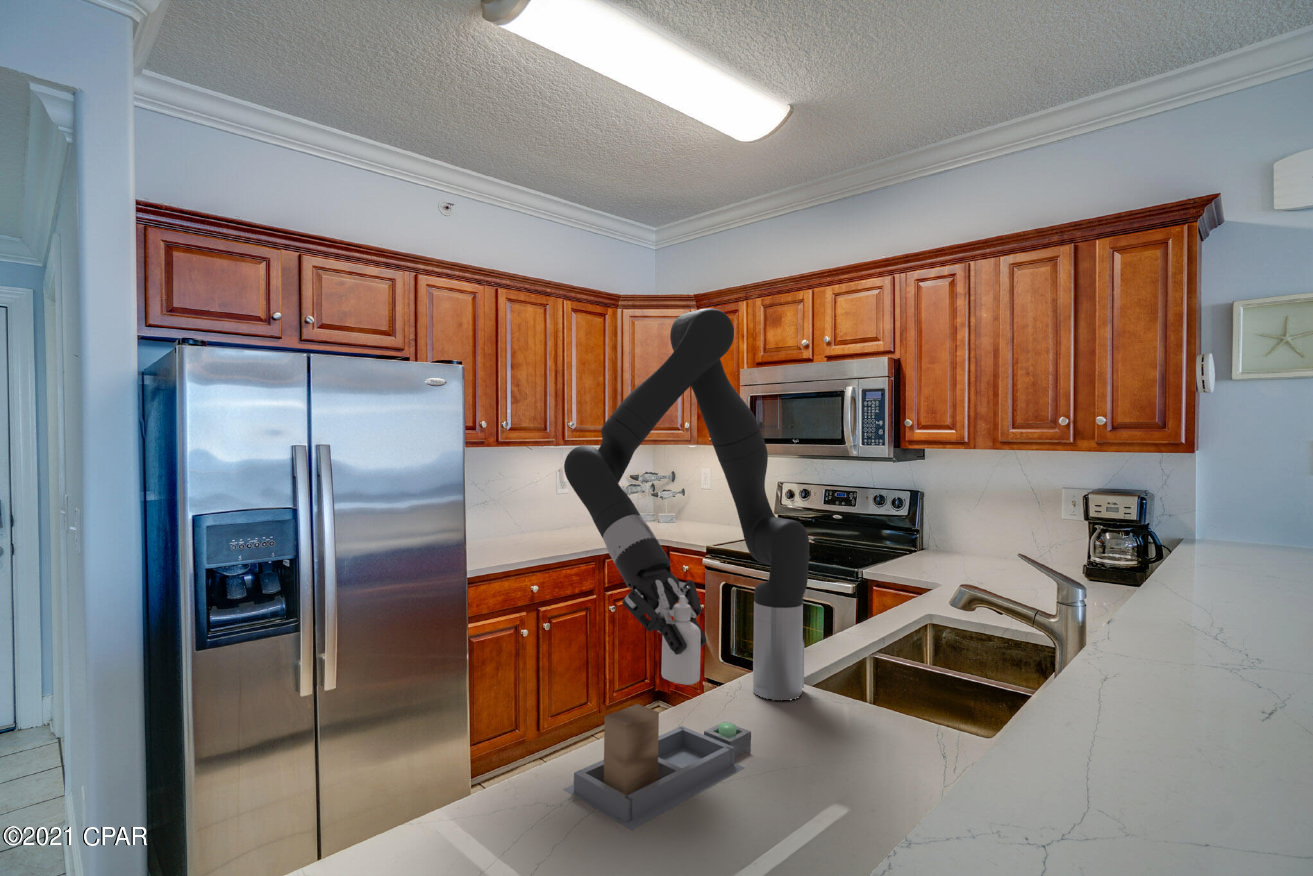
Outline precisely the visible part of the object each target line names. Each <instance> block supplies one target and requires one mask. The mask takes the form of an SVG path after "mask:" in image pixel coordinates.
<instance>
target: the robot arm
mask: <svg viewBox="0 0 1313 876" xmlns="http://www.w3.org/2000/svg"><path fill="white" fill-rule="evenodd" d="M670 328H671V329H670V333H669V334H670V335H669V338H670V344H671V348H672V350H673V351H672V353H671V355H670V356H669V357H668V358H667V359H666V360H665V361H664V363H662V364H661V365H660V367H658V369H656V370H655V371H654V372H653V373H652V374H651V375H649V376H648V377H647V378H646V379H645V380H644V381H642V382H641V383H640V384H639V385H637V387H636V388H635V389H633V390H632V391H631V392H630V393H629V394H628V395H627V396H626V397H625V398H624V400H622V402H621V403H620V404H619V405H618V406H617V408H616V409H615V410H614V412H613V413H611V415H610V416H609V417H608V418H607V420H606V421H605V423H604V424H603V426H602V428H601V433H600V434H601V438H602V439H601V444H600V446H599V447H598V449H597V448H595V447H594V446H590V445H579V446H576V447H574V448H572V450H571V451H570V450H569V453H568V454H567V455H566V457H565V460H564V464H563V465H564V466H563V469H564V475H565V477H566V479H567V481H568V483H569V485H570V486H571V487H572V488H571V489H572V490H573V491H574V493H575V494H576V495H577V497H578V498H579V500H580V501H581V502H582V504H583V505H584V507H585V508H586V510H587V511H588V512H589V515H590V516H591V518H592V521H593V523H594V525H595V527H596V529H597V531H598V533H599V534H600V536H601V537H602V540H603V542H604V544H605V547H606V550H607V552H608V555H609V556H610V557H611V559H612V561H613V563H614V564H615V567H616V568H617V570H618V572H619V574H620V576H621V577H622V579H623V581H624V583H625V585H626V587H627V588H629V589H630V592H629V593H628V594H626V596H625V597H624V598H623V600H622V602H621V603H622V605H623V606H624V607H625V608H626V609H627V610H628V611H629V612H630V614H631V615H632V616H633V617H634V618H636V620H637V621H638V622H639V623H640V624H641V625H642V627H644V628H645V629H646V630H647V631H648V632H653V631H657V632H658V633H659V634H662V636H664V638H665V640H666V642H667V643H668V645H669V647H670V649H671V650H672V651H674V653H675V654H676V655H678V654H681V653H682V652H683V651H684V650H685V649H686V648H687V644H686V642H685V641H684V639H683V637H682V635H681V634H680V632H679V630H678V628H677V627H676V625H675V624H672V622H673V618H672V617H674V605H675V604H678V603H679V599H680V596H685V600H686V603H687V604H688V605H690V606H691V614H690V620H689V621H690V622H692V623H694V624H695V625H696V626H698V628H699V629H700V631H701V648H702V647H703V646H704V645H705V644H706V643H707V636H706V635H705V632H704V631H703V630H702V628H701V626H700V624H699V622H698V621H697V617H698V616H699V615H700V614H701V613H702V612H703V608H702V604H701V601H700V598H699V594H698V591H697V588H696V587H697V586H696V584H695V581H693V580H692V579H689V580H688V581H687V582H682V581H679V579H678V578H677V577H676V575H674V574H673V572H672V571H671V560H670V558H669V557H668V555H667V553H666V551H664V548H663V547H662V545H661V543H660V542H659V540H658V539H657V537H656V535H655V534H654V532H653V530H652V529H651V527H650V526H649V525H648V523H647V522H646V521H645V520H644V519H643V516H641V513H640V512H639V510H638V509H637V507H636V505H635V504H634V502H633V501H632V499H631V498H630V496H629V495H628V494H627V493H626V492H625V491H624V490H623V488H622V487H621V486H620V484H619V483H620V481H621V479H622V478H623V476H624V474H625V472H626V470H627V468H628V467H629V465H630V462H631V460H632V458H633V455H634V453H635V452H636V450H637V449H638V448H639V447H640V445H642V443H643V442H644V441H645V439H647V437H648V436H649V435H650V434H651V432H652V431H653V429H654V428H655V427H656V426H657V425H658V424H659V422H660V421H661V419H662V418H663V417H664V416H665V414H666V413H667V412H668V411H669V410H670V409H671V408H672V406H673V405H674V404H676V402H677V401H678V400H679V399H680V398H681V396H682V395H684V393H685V392H686V391H687V390H688V389H689V388H690V387H691V390H692V391H693V394H694V396H695V399H696V402H697V405H698V407H699V410H700V413H701V416H702V419H703V422H704V424H705V426H706V429H707V431H708V435H709V437H710V440H711V444H712V446H713V449H714V451H715V455H716V457H717V459H718V462H719V464H720V467H721V469H722V472H723V473H724V477H725V480H726V482H727V485H728V488H729V490H730V494H731V497H732V499H733V501H734V505H735V508H736V512H737V515H738V519H739V523H740V527H741V531H742V534H743V539H744V542H745V546H746V548H747V550H748V553H749V554H750V556H751V557H752V558H753V559H754V560H756V561H757V562H758V563H760V564H763V565H768V566H769V576H768V580H766V582H761V583H759V584H757V585H756V586H755V587H754V591H753V650H752V651H753V652H752V653H753V654H752V657H753V660H752V661H753V662H752V667H753V668H752V671H753V672H752V675H753V676H752V692H753V693H754V694H755V696H757V695H758V696H757V697H759V696H760V698H762V697H763V698H762V699H765V698H766V699H765V700H768V699H772V700H771V701H775V700H781V701H780V702H783V701H782V700H790V699H795V698H797V697H799V696H800V695H801V694H803V691H802V688H804V689H805V641H804V639H803V637H804V635H803V634H804V633H803V632H804V631H803V630H804V627H803V626H804V622H803V621H804V619H803V618H804V617H803V615H804V595H805V592H806V590H807V587H808V578H809V563H810V539H809V534H808V531H807V530H806V527H805V526H804V525H803V524H802V523H801V522H800V521H797V520H794V519H788V518H782V517H777V516H775V514H774V511H773V510H772V509H773V508H772V507H771V505H770V502H769V499H768V497H767V492H766V488H765V487H766V485H765V483H766V477H767V476H766V475H767V470H768V469H767V468H768V463H769V462H768V461H769V458H768V457H769V456H768V455H769V454H768V449H767V444H766V441H765V438H764V436H763V433H762V431H761V427H760V425H759V422H758V421H757V418H756V416H755V414H754V413H753V412H752V410H751V408H750V407H749V406H748V404H747V403H746V401H745V400H744V399H743V398H742V397H741V395H739V392H737V390H736V389H735V388H734V386H733V385H732V384H731V382H730V380H729V378H728V376H727V374H726V372H725V369H724V366H723V363H722V360H721V358H722V357H724V356H725V355H726V354H727V352H729V351H730V349H731V347H732V345H733V342H734V338H735V328H734V324H733V322H732V319H731V318H730V316H729V315H727V314H726V313H725V312H724V311H722V310H720V309H716V308H711V307H710V308H701V309H698V310H694V311H689V312H686V313H683V314H681V315H679V316H678V317H677V318H676V319H675V320H674V321H673V323H672V325H671V327H670ZM645 614H646V615H647V616H648V617H649V618H650V619H649V618H648V617H647V616H646V615H645ZM801 696H802V695H801ZM795 700H796V699H795ZM790 701H791V700H790Z"/></svg>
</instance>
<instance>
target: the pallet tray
mask: <svg viewBox="0 0 1313 876" xmlns="http://www.w3.org/2000/svg"><path fill="white" fill-rule="evenodd" d="M743 769H745V767H744V766H743V765H740V764H738V763H736V762H735V757H734V747H733V746H730V745H728V744H725V743H723V742H720V741H718V740H715V739H713V738H711V737H708V736H706V735H704V733H700V732H699V731H695V730H693V729H691V728H689V727H686V726H683V725H681V726H679V727H676V728H675V729H672V730H669V731H668V732H665V733H662V734H661V735H659V736H658V781H656V782H654V783H652V784H650V785H648V786H646V787H644V788H642V789H640V790H638V791H636V792H634V793H632V794H630V795H628V796H626V795H624V794H623V793H621V792H619V791H617V790H615V789H614V788H612V787H610V786H608V785H606V784H605V783H604V759H603V760H599V761H598V762H596V763H593V764H591V765H589V766H586V767H584V768H582V769H579V770H577V771H574V772H573V784H572V785H569V786H568V787H565V788H563V790H564V791H565V792H567V793H569V794H570V795H572V796H573V797H576V798H577V799H578V800H581V801H582V802H584V803H585V804H587V805H588V806H591V807H592V808H594V809H596V810H597V811H599V812H601V813H602V814H604V815H606V816H607V817H609V818H610V819H612V820H614V821H616V822H617V823H619V824H621V825H622V826H624V827H625V828H627V829H629V830H631V831H633V830H635V829H637V828H638V827H640V826H642V825H644V824H646V823H647V822H650V821H651V820H653V819H655V818H657V817H658V816H660V815H662V814H664V813H666V812H667V811H670V810H671V809H673V808H675V807H677V806H679V805H680V804H682V803H684V802H685V801H687V800H689V799H691V798H693V797H694V796H697V795H699V794H700V793H702V792H703V791H704V792H705V791H706V790H707V789H709V788H711V787H712V786H715V785H716V784H718V783H720V782H722V781H724V780H725V779H727V778H730V777H731V776H733V775H734V774H736V773H739V772H740V771H742V770H743Z"/></svg>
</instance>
